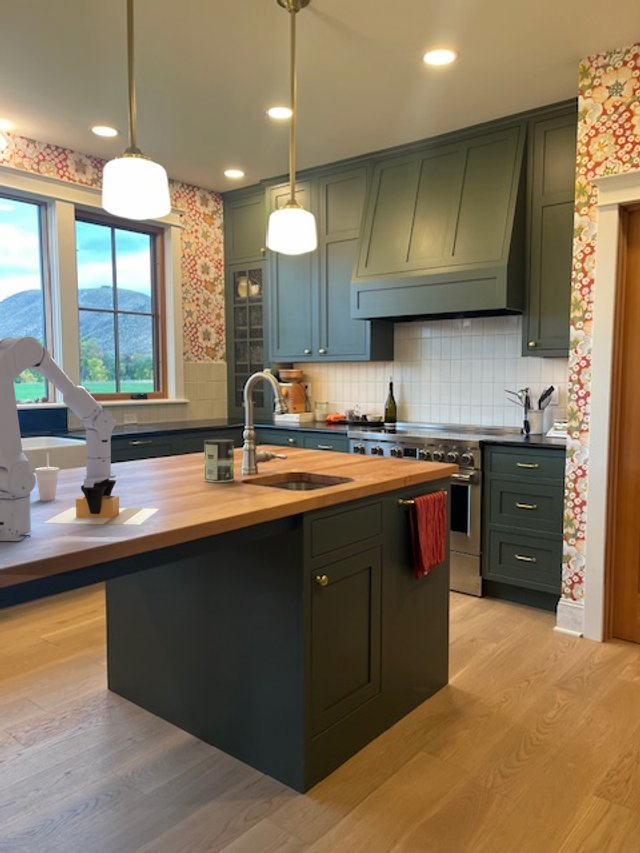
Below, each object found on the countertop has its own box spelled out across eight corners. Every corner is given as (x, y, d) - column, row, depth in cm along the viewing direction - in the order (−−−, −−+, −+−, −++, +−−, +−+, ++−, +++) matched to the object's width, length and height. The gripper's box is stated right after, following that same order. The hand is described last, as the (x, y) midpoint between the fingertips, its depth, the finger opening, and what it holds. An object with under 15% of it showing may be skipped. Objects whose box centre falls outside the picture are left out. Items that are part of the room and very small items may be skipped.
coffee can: (236, 478, 224) (236, 439, 223) (231, 483, 213) (231, 441, 212) (207, 477, 224) (207, 438, 223) (201, 482, 214) (201, 441, 213)
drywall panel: (139, 528, 148) (139, 524, 148) (42, 527, 148) (42, 522, 148) (159, 512, 166) (159, 508, 166) (72, 510, 166) (72, 507, 166)
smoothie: (63, 500, 179) (62, 451, 178) (54, 505, 173) (54, 454, 172) (40, 500, 179) (39, 451, 178) (31, 504, 173) (30, 454, 172)
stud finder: (112, 517, 154) (112, 498, 154) (76, 517, 154) (75, 498, 154) (119, 513, 159) (119, 494, 159) (83, 512, 159) (83, 494, 159)
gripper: (104, 461, 149) (105, 517, 150) (123, 453, 163) (124, 505, 164) (74, 460, 149) (75, 517, 150) (96, 453, 163) (97, 505, 164)
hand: (99, 511), depth 157 cm, fingers closed on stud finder, 5 cm apart
